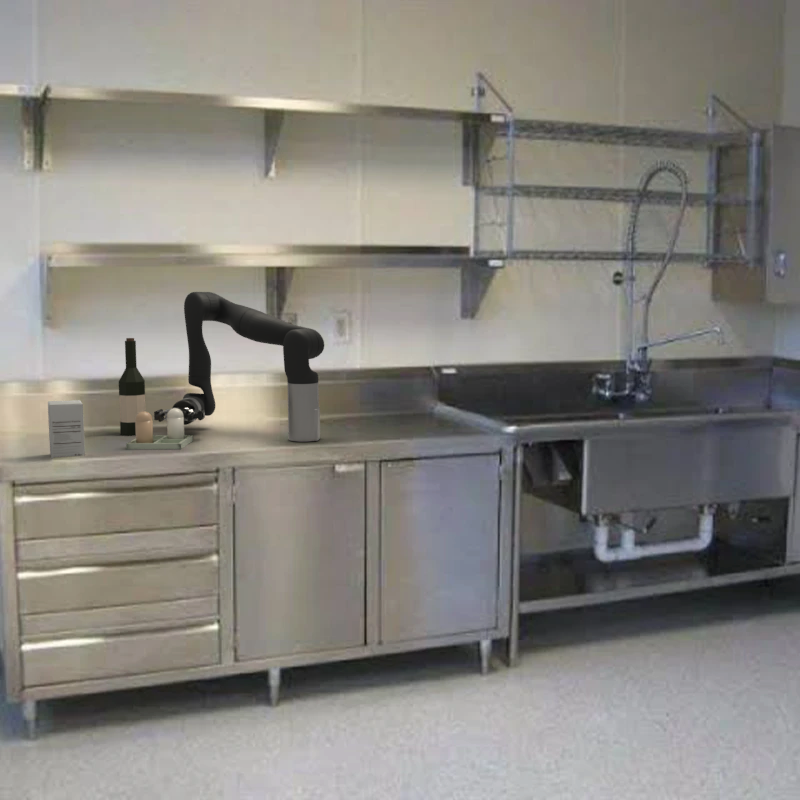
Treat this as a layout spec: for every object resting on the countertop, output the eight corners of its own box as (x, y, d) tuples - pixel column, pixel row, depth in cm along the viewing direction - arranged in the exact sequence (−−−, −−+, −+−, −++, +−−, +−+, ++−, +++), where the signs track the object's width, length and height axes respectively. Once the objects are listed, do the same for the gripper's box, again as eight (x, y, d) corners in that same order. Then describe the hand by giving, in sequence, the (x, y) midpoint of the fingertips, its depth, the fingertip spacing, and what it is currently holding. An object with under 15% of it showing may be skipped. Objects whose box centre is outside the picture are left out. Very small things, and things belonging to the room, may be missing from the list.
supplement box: (49, 454, 289) (47, 400, 287) (83, 452, 292) (81, 399, 290) (50, 459, 281) (48, 404, 279) (85, 457, 284) (83, 402, 282)
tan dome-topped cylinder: (155, 445, 300) (154, 410, 298) (150, 448, 295) (149, 412, 294) (138, 445, 300) (137, 410, 298) (134, 448, 295) (132, 412, 294)
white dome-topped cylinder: (186, 441, 307) (185, 407, 305) (182, 444, 302) (181, 409, 301) (170, 441, 307) (168, 407, 305) (165, 444, 302) (164, 409, 301)
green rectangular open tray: (193, 442, 308) (192, 435, 308) (180, 451, 293) (180, 443, 293) (141, 442, 309) (141, 435, 308) (126, 451, 293) (126, 443, 293)
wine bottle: (124, 436, 320) (121, 339, 317) (116, 433, 327) (112, 338, 324) (151, 434, 325) (147, 338, 321) (141, 431, 332) (138, 337, 328)
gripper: (163, 398, 318) (149, 405, 302) (209, 398, 317) (198, 405, 301) (164, 423, 319) (150, 430, 302) (210, 423, 318) (198, 430, 302)
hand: (174, 418), depth 302 cm, fingers open, 8 cm apart
